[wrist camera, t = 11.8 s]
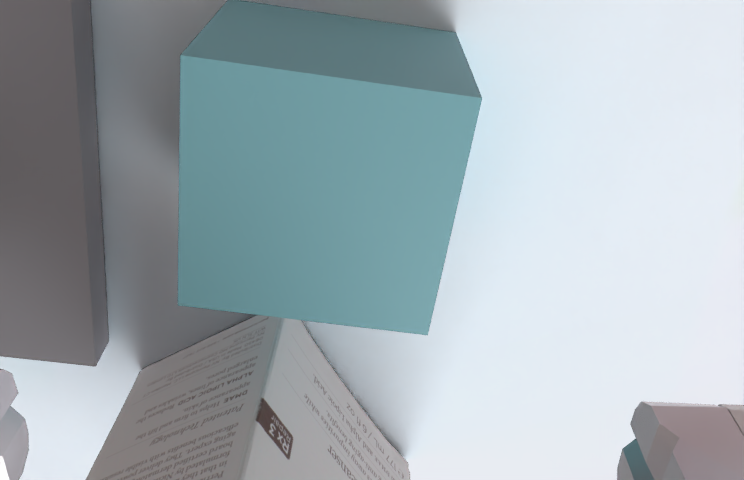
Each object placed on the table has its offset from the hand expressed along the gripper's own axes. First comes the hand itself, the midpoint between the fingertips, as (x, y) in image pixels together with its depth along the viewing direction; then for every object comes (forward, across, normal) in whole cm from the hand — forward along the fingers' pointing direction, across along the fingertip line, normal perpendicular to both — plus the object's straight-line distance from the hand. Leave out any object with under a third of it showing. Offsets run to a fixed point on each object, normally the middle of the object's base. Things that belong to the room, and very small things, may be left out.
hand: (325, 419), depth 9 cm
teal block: (+11, +1, 0) cm, 11 cm away
